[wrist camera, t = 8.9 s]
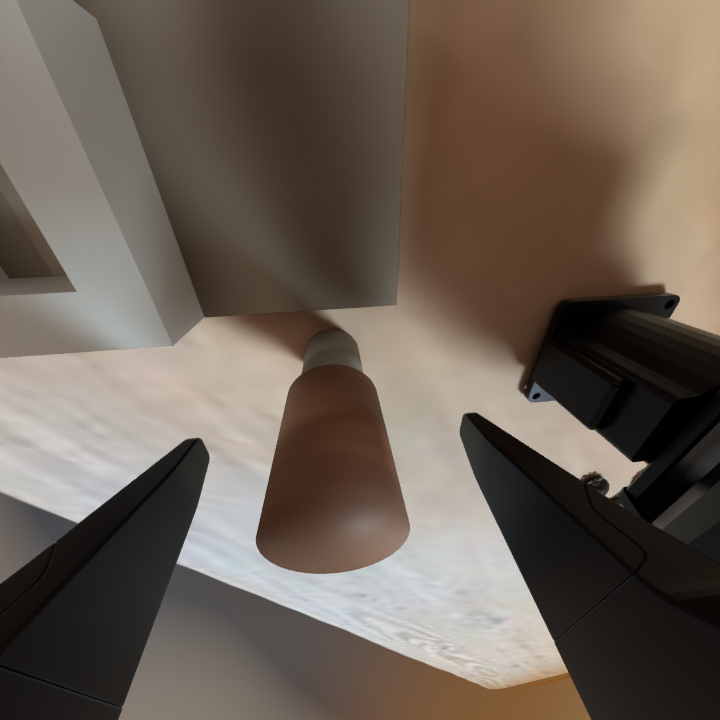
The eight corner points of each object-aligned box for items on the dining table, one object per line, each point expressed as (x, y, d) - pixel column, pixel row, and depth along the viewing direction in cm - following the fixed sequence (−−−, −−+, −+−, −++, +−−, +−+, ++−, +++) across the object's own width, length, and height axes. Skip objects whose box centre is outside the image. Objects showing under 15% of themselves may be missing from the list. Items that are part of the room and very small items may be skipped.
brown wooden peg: (365, 319, 13) (415, 485, 5) (366, 378, 15) (405, 563, 7) (292, 324, 13) (236, 505, 5) (303, 383, 15) (273, 581, 7)
